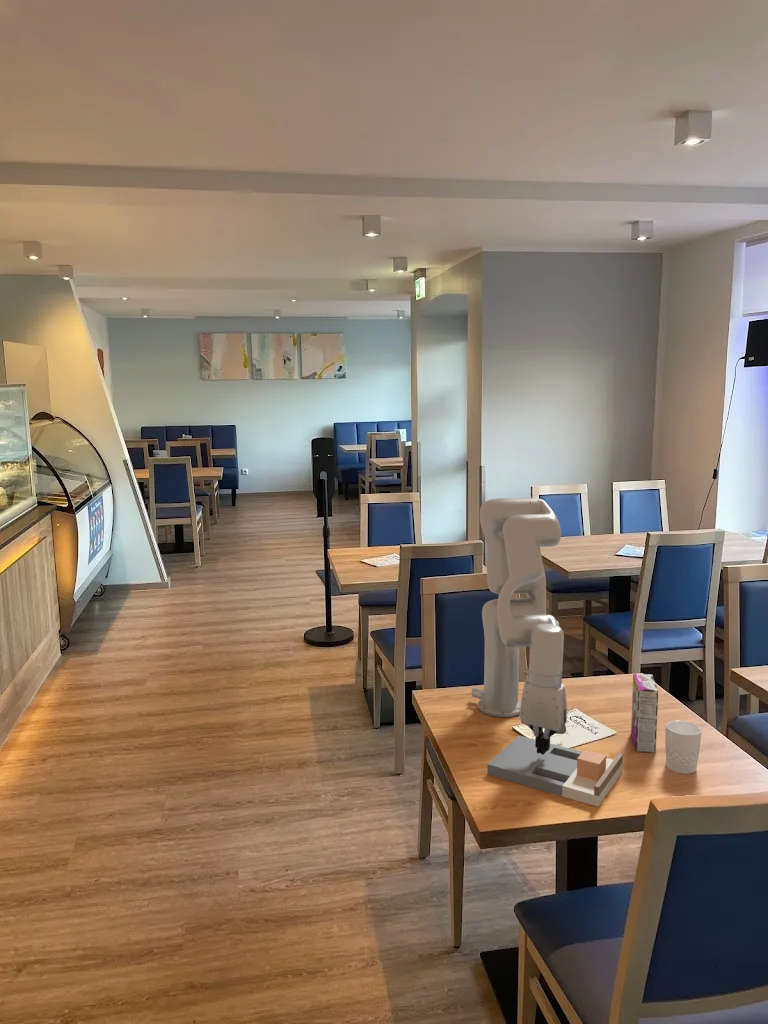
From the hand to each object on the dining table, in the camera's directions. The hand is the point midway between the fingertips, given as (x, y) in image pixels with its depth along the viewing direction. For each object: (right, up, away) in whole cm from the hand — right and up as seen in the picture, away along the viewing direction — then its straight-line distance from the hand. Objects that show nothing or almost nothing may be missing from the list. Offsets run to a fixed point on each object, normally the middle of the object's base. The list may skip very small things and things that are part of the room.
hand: (542, 751), depth 177 cm
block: (+10, -3, -7) cm, 12 cm away
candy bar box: (+28, -2, +14) cm, 31 cm away
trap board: (+3, -5, -2) cm, 5 cm away
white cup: (+33, -4, +1) cm, 33 cm away
